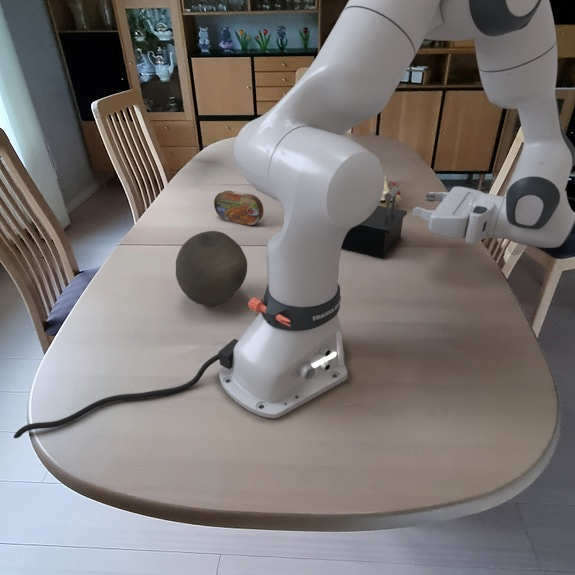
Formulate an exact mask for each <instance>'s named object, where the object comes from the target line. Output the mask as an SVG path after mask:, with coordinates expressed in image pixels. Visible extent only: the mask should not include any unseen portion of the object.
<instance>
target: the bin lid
mask: <svg viewBox="0 0 575 575" xmlns="http://www.w3.org/2000/svg"><path fill="white" fill-rule="evenodd" d="M397 186H398V185H397ZM397 186H394V185H393V186H392V187H391V188H389V191H388V192H387V193H386V194H385V199H386V200H387V202H386V207H384V206H379V205H378V206H377V208H376V209H375V211H374V212H373V213H372V214H371V215H370V216H369V217H368V218H367V219H366V220H365V221H363V222H362V223H361V224H359V225H357V226H356V227H361V228H365V229H370V230H374V231H378V232H383V233H387V234H389V233H390V232H391V231H392V230H393V228H394V227H395V226H396V225H397V224H398V223H399V222H400V221H401V220H402V219H403V220H404V218H405V217H406V216H407V215H408V211H407V210H404V209H398V208H396V205H395V204H396V203H397V201H396V194H397V193H398V192H399V191H400V188H399V186H398V187H397ZM391 199H392V207H390V200H391Z"/></svg>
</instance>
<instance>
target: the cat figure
mask: <svg viewBox="0 0 575 575" xmlns="http://www.w3.org/2000/svg"><path fill="white" fill-rule="evenodd" d="M380 162H381V164H382V165H383V160H380ZM384 180H385V182H384V190H383V194H382V198H381V200H380V202H379V204H378V205H379V206H384V207H386V202H387V200H386V199H385V194H386V193H387V192H388V191H389V190H390V188H389V184H388V177H387V175H386V174H384ZM390 183H392V186H393V187H394V186H397V187H398V188H399V186H398V184H396V182H394V181H392V180H390ZM400 195H401V191H400V190H399V192H398V193H397V194H396V203H399V202H402V197H400ZM396 203H395V206H396V205H397V204H396ZM391 207H392V199H391V200H390V208H391Z"/></svg>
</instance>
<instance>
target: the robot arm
mask: <svg viewBox="0 0 575 575" xmlns="http://www.w3.org/2000/svg"><path fill="white" fill-rule="evenodd" d="M556 33H557V32H556V26H555V20H554V16H553V11H552V6H551V2H550V0H348V1H347V3H346V5H345V7H344V8H343V10H342V12H341V13H340V15H339V17H338V19H337V21H336V22H335V24H334V26H333V28H332V29H331V31H330V33H329V34H328V37H327V38H326V40H325V41H324V44H323V45H322V46H321V49H320V50H319V52H318V54H317V56H316V57H315V58H314V60H313V61H312V63H311V65H310V66H309V68H308V69H307V70H306V71H305V73H304V74H303V75H302V76H301V77H300V79H299V80H298V81H297V82H296V83H295V84H294V85H293V87H291V88H290V89H289V91H288V92H286V94H285V95H283V96H282V98H280V100H278V102H277V103H276V104H274V106H272V107H271V108H270V109H269V110H268V111H267V112H265V113H264V114H262V115H261V116H259V117H257V118H254V119H253V120H250V121H249V122H247V123H246V124H245V125H244V126H243V127H242V128H241V129H240V131H239V132H238V134H237V136H236V138H235V141H234V145H233V152H232V153H233V161H234V164H235V167H236V169H237V171H238V172H239V173H240V175H241V176H242V177H243V178H244V179H245V181H246V182H248V183H249V185H250V186H252V188H254V189H255V190H256V191H258V192H260V193H262V194H263V195H266V196H267V197H269V198H271V199H272V200H274V201H277V202H278V203H280V205H281V208H282V211H283V223H282V228H281V229H280V230H278V231H277V232H276V233H274V235H272V236H271V237H270V239H269V240H268V242H267V244H266V250H265V252H266V268H267V269H266V270H267V285H266V288H265V291H264V295H263V299H262V300H261V299H259V298H258V297H256V296H254V297H252V298H251V299H249V301H248V308H249V309H250V310H252V311H254V312H255V313H257V316H256V317H255V319H254V320H253V321H252V322H251V323H250V325H249V327H248V328H247V329H246V331H245V332H244V333H243V334H242V336H241V337H240V338H239V339H237V338H233V339H232V340H231V341H230V342H229V343H227V344H226V345H225V346H223V347H222V348H221V349H220V350H218V352H217V354H215V355H214V356H212V357H210V358H209V359H208V360H206V361H205V362H204V363H203V364H202V366H200V368H199V370H198V371H197V373H196V375H195V376H194V377H193V378H192V379H191V380H189V381H188V382H186V383H184V384H181V385H179V386H176V387H170V388H165V389H163V388H162V389H156V390H151V391H145V392H136V393H124V394H116V395H111V396H107V397H104V398H102V399H99V400H96V401H94V402H92V403H90V404H89V405H87V406H85V407H83V408H81V409H79V410H78V411H76V412H75V413H72V414H70V415H68V416H66V417H63V418H62V419H57V420H53V421H44V422H32V423H28V424H26V425H24V426H22V427H21V428H19V429H18V430H17V431H16V432H15V433H14V434H13V439H19V438H20V437H22V436H23V435H24V434H25V433H27V432H29V431H33V430H41V429H42V430H43V429H53V428H57V427H61V426H64V425H66V424H67V425H68V424H69V423H71V422H74V421H75V420H77V419H79V418H81V417H82V416H84V415H87V413H89V412H91V411H93V410H94V409H96V408H99V407H101V406H104V405H106V404H109V403H114V402H118V401H128V400H139V399H147V398H152V397H159V396H160V397H161V396H164V395H165V396H166V395H172V394H177V393H180V392H183V391H185V390H188V389H190V388H191V387H193V386H194V385H196V384H197V383H198V382H199V381H200V380H201V378H202V377H203V375H204V373H205V372H206V370H207V369H208V368H209V367H210V366H211V365H213V364H214V363H216V362H217V361H219V365H220V366H222V368H221V369H220V370H219V374H218V375H219V382H220V385H221V387H222V388H223V390H224V391H225V393H226V394H227V395H228V396H229V397H230V398H231V399H232V400H233V401H234V402H235V403H237V404H238V405H239V406H241V407H242V408H244V409H245V410H247V411H248V412H250V413H252V414H254V415H257V416H259V417H263V418H267V419H272V420H273V419H274V420H275V419H278V418H281V417H282V416H284V415H286V414H288V413H289V412H291V411H293V410H295V409H297V408H299V407H301V406H302V405H304V404H306V403H308V402H309V401H311V400H313V399H315V398H317V397H318V396H320V395H322V394H324V393H326V392H327V391H329V390H331V389H333V388H335V387H336V386H338V385H341V383H344V382H345V381H347V379H348V377H349V376H348V369H347V367H346V366H347V365H346V364H345V350H344V346H343V335H342V329H341V324H340V320H339V311H340V307H341V301H342V300H341V299H342V297H341V286H340V284H339V272H340V260H341V259H340V258H341V251H342V249H341V247H342V243H343V240H344V238H345V236H346V234H347V233H348V231H349V230H350V229H351V228H353V227H355V226H357V225H359V224H361V223H362V222H363V221H365V220H366V219H367V218H368V217H369V216H370V215H371V214H372V213H373V212H374V211H375V209H376V208H377V206H378V204H379V202H380V200H381V198H382V194H383V190H384V182H385V180H384V175H385V171H384V167H383V163H382V164H381V162H380V161H381V160H380V158H379V157H378V156H376V155H375V154H374V153H373V152H372V151H370V150H368V149H367V148H366V147H364V146H363V145H361V144H360V143H358V142H356V141H355V140H353V139H352V138H350V137H347V136H344V135H345V134H346V133H347V132H349V131H350V130H351V129H353V128H354V127H356V126H357V125H359V124H361V123H364V122H367V121H368V120H371V119H374V117H376V116H378V115H379V114H380V113H381V112H382V111H384V109H385V108H386V106H387V105H388V104H389V101H390V100H391V98H392V96H393V94H394V93H395V91H396V89H397V88H398V86H399V84H400V82H401V81H402V79H403V77H404V76H405V74H406V72H407V71H408V68H409V67H410V65H411V63H412V62H413V60H414V58H415V56H416V55H417V53H418V51H419V50H420V48H421V46H422V44H423V42H430V41H439V42H440V41H441V42H443V41H444V42H446V41H450V42H461V41H470V40H474V49H475V50H474V51H475V56H476V57H475V58H476V62H477V68H478V72H479V73H478V74H479V77H480V82H481V85H482V88H483V90H484V93H485V95H486V97H487V99H488V101H489V102H490V103H491V104H492V105H494V106H496V107H498V108H500V109H505V110H516V109H517V113H518V116H519V122H520V127H521V130H522V135H523V144H522V147H521V149H520V152H519V154H518V159H517V163H516V165H515V168H514V170H513V173H512V175H511V177H510V179H509V182H508V185H507V188H506V191H505V196H503V195H497V194H492V193H486V192H485V193H484V192H483V191H482V190H478V189H474V188H470V187H464V186H453V187H452V188H451V190H450V191H449V192H447V191H440V192H439V191H438V192H433V191H429V192H427V193H426V195H425V201H426V202H431V203H434V202H440V203H439V204H438V205H437V207H436V208H435V210H433V209H429V210H428V209H426V208H424V206H419V205H416V206H415V207H414V208H413V209H412V216H414V217H419V218H420V219H423V221H426V222H428V224H427V225H428V226H427V230H428V231H429V232H431V233H433V234H435V235H439V236H443V237H445V238H446V237H447V238H450V239H456V240H462V239H464V242H465V243H467V244H472V245H473V244H476V243H479V242H480V241H482V240H484V239H487V238H488V239H489V238H490V239H495V240H496V239H497V240H498V239H500V240H501V239H503V240H508V241H510V242H513V243H514V244H519V245H523V246H528V247H535V248H541V249H548V248H549V249H554V248H558V247H561V246H562V245H563V244H564V243H565V242H566V241H567V240H568V238H569V237H570V235H571V233H572V231H573V230H574V227H575V211H573V209H572V207H571V206H570V203H569V199H568V195H567V190H566V188H567V185H568V182H569V179H570V175H571V173H572V170H573V168H574V166H575V146H574V144H573V143H572V142H571V140H570V139H569V137H568V136H567V134H566V133H565V131H564V130H563V126H562V123H561V116H560V110H559V104H558V98H557V91H556V86H557V78H558V77H557V76H558V43H557V42H558V41H557V34H556Z"/></svg>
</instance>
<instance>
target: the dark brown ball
mask: <svg viewBox="0 0 575 575" xmlns="http://www.w3.org/2000/svg"><path fill="white" fill-rule="evenodd" d="M247 273H248V260H247V257H246V254H245V253H244V250H243V249H242V247H241V245H240V244H239V243H238V242H236V241H235V239H233V238H231V237H230V236H229V235H228V234H226V233H224V232H222V231H218V230H208V231H207V230H206V231H203V232H199V233H197V234H195V235H192V236H191V237H189V238H188V239H187V240H186V241H185V242H184V243H183V244H182V246H181V247H180V249H179V251H178V254H177V255H176V259H175V276H176V277H175V278H176V282H177V284H178V287H179V289H180V290H181V291H182V292H183V294H184V295H185V296H186V297H187V298H188V299H189V300H191V301H192V302H194V303H196V304H198V305H201V306H215V305H216V306H217V305H219V304H223V303H224V302H227V301H229V299H231V298H232V297H233V296H234V295H235V294H236V293H237V292H238V291H239V290H240V289H241V287H242V285H243V284H244V282H245V280H246V277H247Z"/></svg>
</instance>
